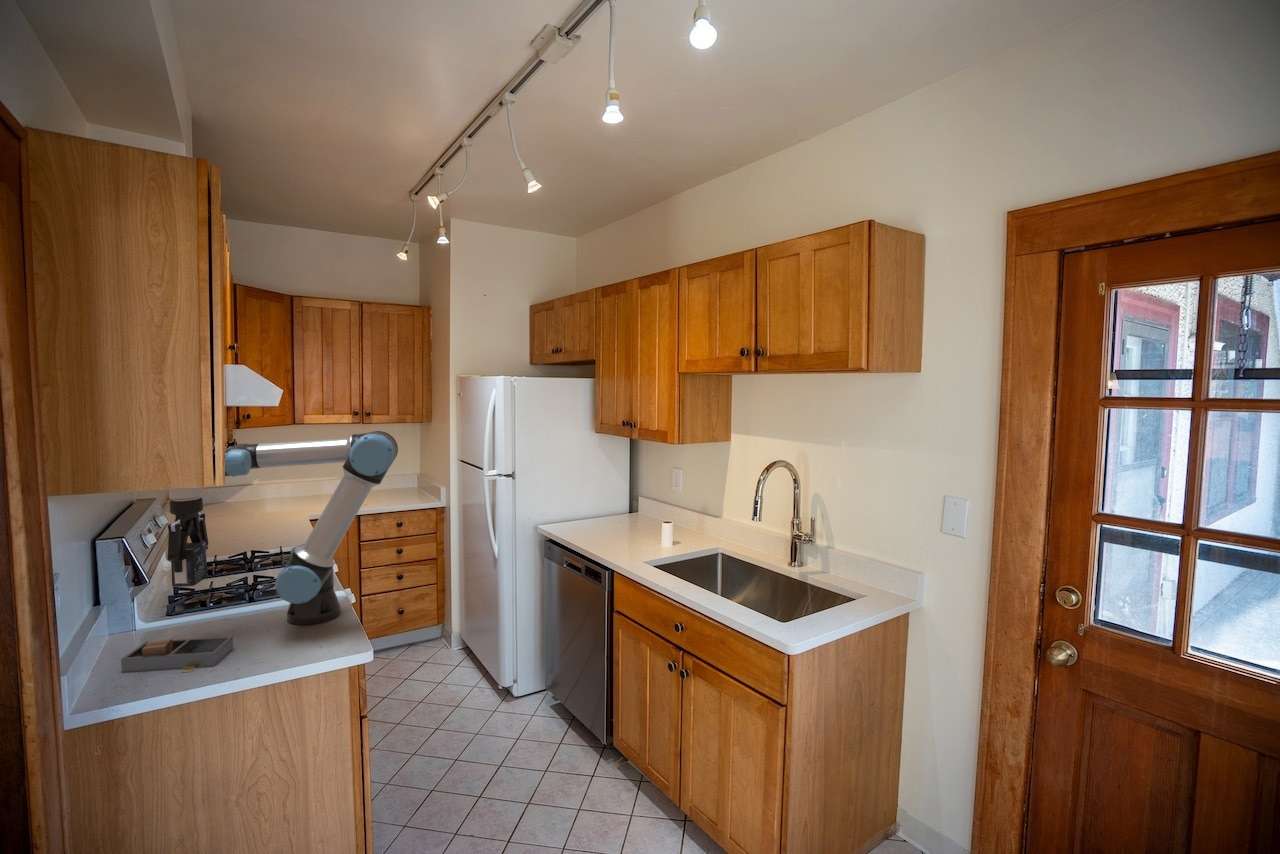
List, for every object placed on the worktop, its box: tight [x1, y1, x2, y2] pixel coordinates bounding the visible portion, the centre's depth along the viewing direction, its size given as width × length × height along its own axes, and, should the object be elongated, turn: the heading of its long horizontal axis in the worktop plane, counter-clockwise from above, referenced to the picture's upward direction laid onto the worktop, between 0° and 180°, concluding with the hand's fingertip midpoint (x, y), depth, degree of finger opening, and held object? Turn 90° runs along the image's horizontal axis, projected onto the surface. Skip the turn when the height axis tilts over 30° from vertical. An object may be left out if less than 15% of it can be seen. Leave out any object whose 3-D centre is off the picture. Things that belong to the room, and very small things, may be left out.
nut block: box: [142, 638, 173, 656], centre depth 165 cm, size 5×5×5 cm
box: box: [170, 541, 208, 588], centre depth 175 cm, size 8×6×11 cm
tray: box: [120, 636, 234, 673], centre depth 165 cm, size 13×22×4 cm, turn 100°
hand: (190, 577), depth 175 cm, fingers closed on box, 8 cm apart
